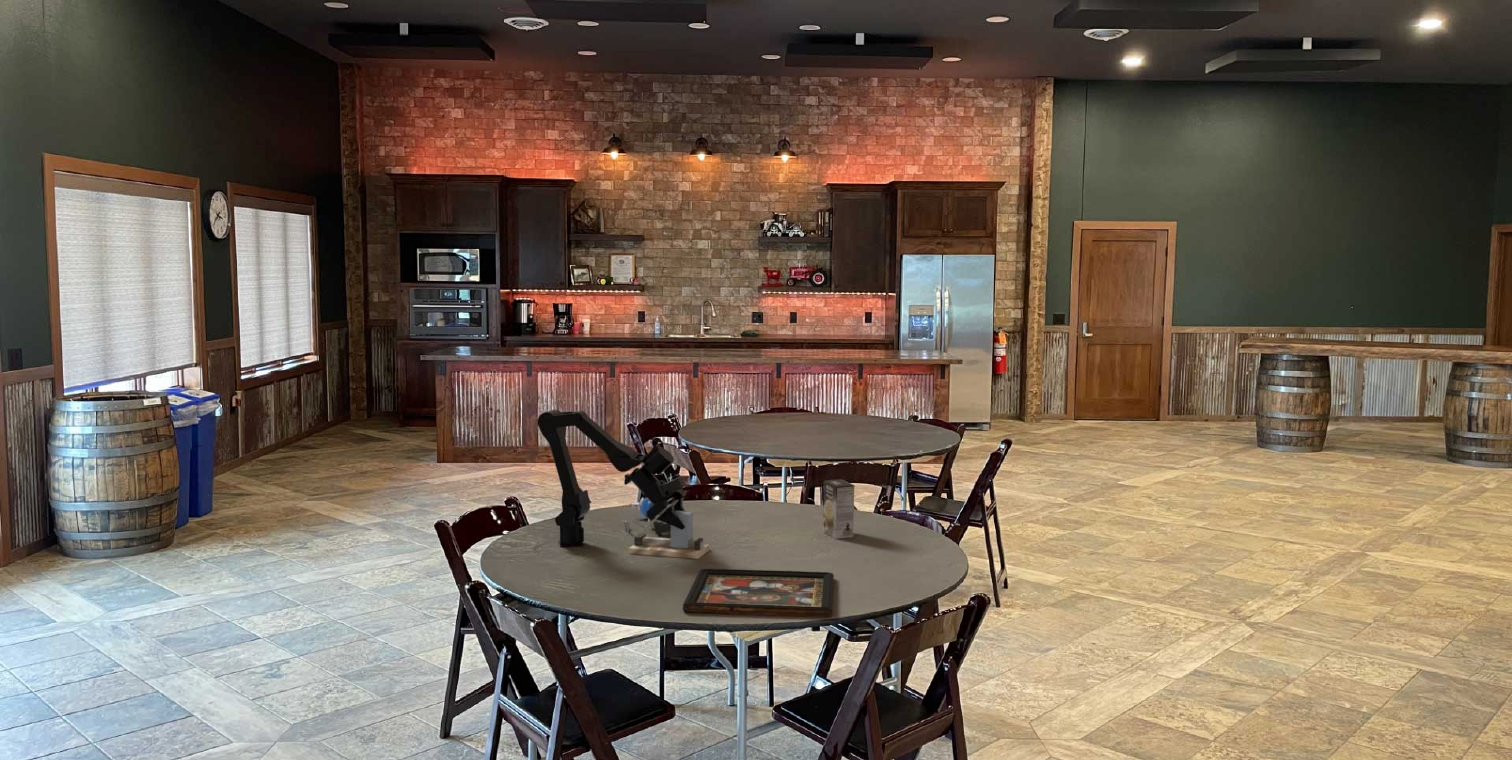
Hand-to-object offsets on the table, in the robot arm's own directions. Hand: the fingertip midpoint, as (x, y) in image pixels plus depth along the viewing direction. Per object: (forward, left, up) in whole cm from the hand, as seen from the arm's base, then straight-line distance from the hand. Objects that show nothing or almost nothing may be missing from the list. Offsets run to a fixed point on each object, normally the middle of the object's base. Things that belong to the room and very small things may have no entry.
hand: (686, 526), depth 297 cm
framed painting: (+10, -42, -8) cm, 44 cm away
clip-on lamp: (-5, +27, -8) cm, 28 cm away
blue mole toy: (-4, +44, -8) cm, 45 cm away
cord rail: (-4, +2, -8) cm, 9 cm away
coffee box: (+48, +9, -8) cm, 50 cm away
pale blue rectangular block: (-1, +1, -6) cm, 6 cm away
